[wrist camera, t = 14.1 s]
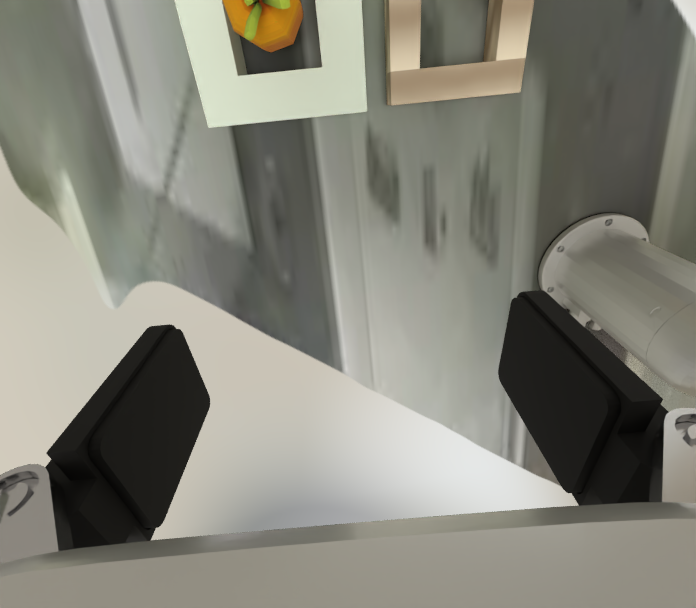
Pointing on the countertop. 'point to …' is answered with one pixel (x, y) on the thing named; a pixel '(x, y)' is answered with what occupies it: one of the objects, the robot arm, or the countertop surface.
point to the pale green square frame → (277, 87)
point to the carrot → (266, 21)
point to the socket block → (457, 80)
